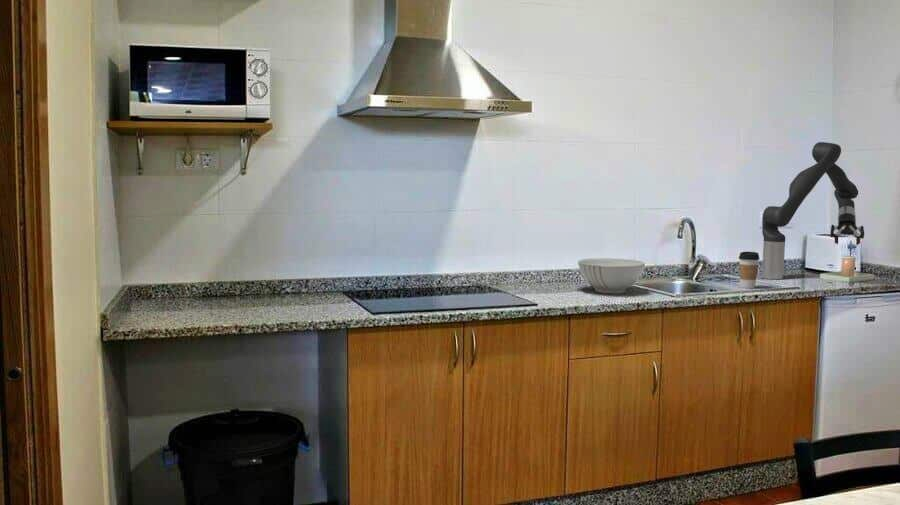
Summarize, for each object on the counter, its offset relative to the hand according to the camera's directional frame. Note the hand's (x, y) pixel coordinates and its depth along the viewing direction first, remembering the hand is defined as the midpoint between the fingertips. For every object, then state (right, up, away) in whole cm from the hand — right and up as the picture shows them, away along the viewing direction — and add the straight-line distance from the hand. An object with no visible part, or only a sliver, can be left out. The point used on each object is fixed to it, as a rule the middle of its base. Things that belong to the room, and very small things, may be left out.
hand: (847, 243), depth 366 cm
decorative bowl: (-121, -20, -47) cm, 132 cm away
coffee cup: (-60, -19, -34) cm, 71 cm away
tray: (-4, -17, -7) cm, 19 cm away
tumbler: (-4, -16, -7) cm, 18 cm away
